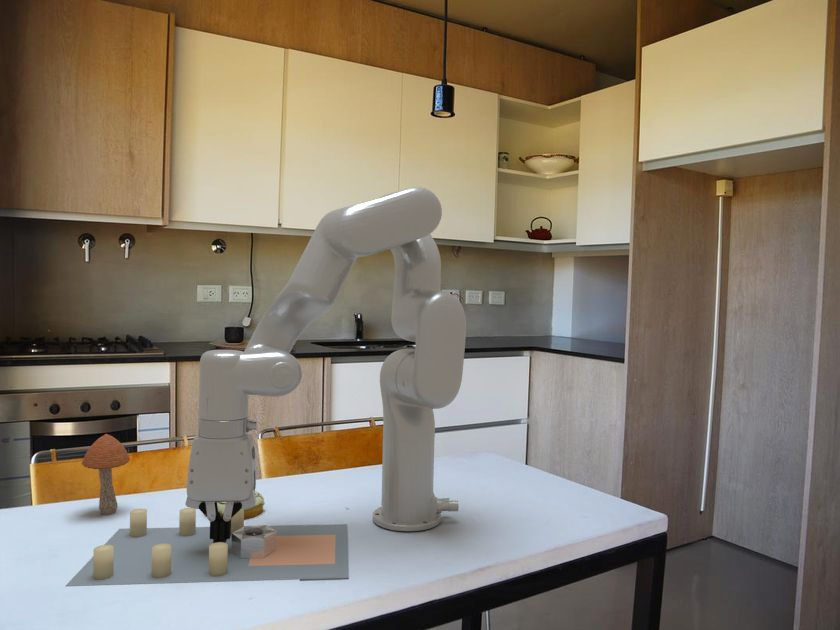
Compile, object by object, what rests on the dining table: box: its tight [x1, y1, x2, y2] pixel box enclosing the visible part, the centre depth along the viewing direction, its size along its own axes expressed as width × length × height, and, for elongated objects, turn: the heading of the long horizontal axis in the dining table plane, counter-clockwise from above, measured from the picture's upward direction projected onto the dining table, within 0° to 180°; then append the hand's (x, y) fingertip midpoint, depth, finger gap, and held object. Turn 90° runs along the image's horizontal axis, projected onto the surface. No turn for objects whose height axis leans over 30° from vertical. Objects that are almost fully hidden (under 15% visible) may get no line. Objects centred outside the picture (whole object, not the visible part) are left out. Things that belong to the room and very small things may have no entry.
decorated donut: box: [218, 490, 266, 520], centre depth 121 cm, size 10×11×4 cm
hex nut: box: [231, 524, 276, 559], centre depth 103 cm, size 7×6×3 cm
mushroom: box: [81, 433, 131, 516], centre depth 118 cm, size 8×8×15 cm
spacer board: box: [65, 507, 349, 587], centre depth 102 cm, size 39×22×4 cm, turn 97°
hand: (220, 543), depth 102 cm, fingers closed
